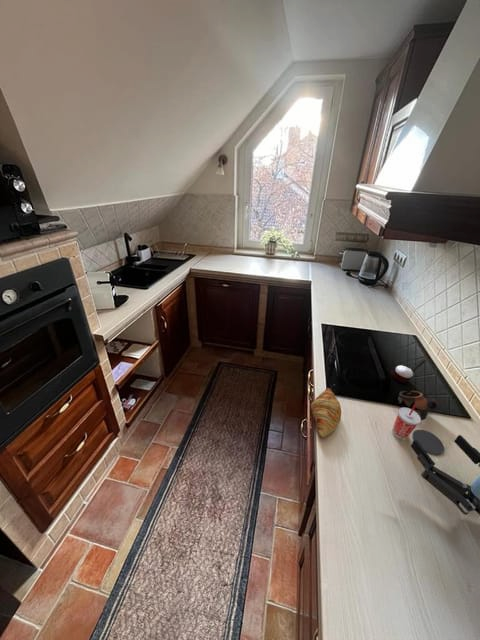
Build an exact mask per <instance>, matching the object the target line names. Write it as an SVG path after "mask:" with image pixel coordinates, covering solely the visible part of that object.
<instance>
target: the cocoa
mask: <svg viewBox="0 0 480 640" xmlns="http://www.w3.org/2000/svg"><path fill="white" fill-rule="evenodd" d="M427 361H428V360H427V358H426V357H424V358H422V359H421V360H420V361H419V362H418V363H417V364H415V365H414V366H413V367H412V368H410V367H407V366H404V365H402V364H401V365H397V366H396V367H395V368H394V370H390V375H391V376H392V377H393V378H394V379H395V380H396V381H398V382H399V383H407V382H409V381H410V380H411V379H412V378H413V376H414V372H415V371H416V370H417V369H418V368H420V367H421V366H422V365H423V364H424V363H426V362H427Z"/></svg>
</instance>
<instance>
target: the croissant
mask: <svg viewBox="0 0 480 640" xmlns="http://www.w3.org/2000/svg"><path fill="white" fill-rule="evenodd" d="M310 409H311V411H312V412H311V413H312V416H313V418H314V420H315V426H316V427H317V429H318V430H317V431H318V434H319V437H321V438H322V439H323V438H327V437H328V436H329V435H330V434H332V433H333V431H335V429H336V428H337V425H338V424H339V423H340V422H341V419H342V406H341V403H340V401H339V400H338V398H337V396H335V393H334V392H333V391H332V389H331V388H329V387H327V388H326V389H325V390H323V391H322V392H321V393H319V395H318V396H317V397H315V399H314V400H313V401H312V402H311V403H310Z"/></svg>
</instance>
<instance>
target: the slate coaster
mask: <svg viewBox="0 0 480 640" xmlns="http://www.w3.org/2000/svg"><path fill="white" fill-rule="evenodd" d="M412 440H413V441H414V440H417V441H418V442H419V444H420V445H421V446H422V448H423V449H424V450H425V451H426V453H427V454H430V455H433V456H440V455H442V454H444V452H445V445H444V443H443V442H442V440H441V439H440V438H439V436H437V435H435V434H434V433H432V432H430V431H428V430H425V429H415V430H413V431H412Z"/></svg>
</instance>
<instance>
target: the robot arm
mask: <svg viewBox="0 0 480 640" xmlns="http://www.w3.org/2000/svg"><path fill="white" fill-rule="evenodd" d="M453 442H454V443H455V444H456V446H457V447H459V449H460V450H461V451H462V452H463V453H464V454H465V455H466V457H468V459H470V461H472V462H473V464H474V465H477V467H479V468H480V452H479V450H478V449H477V448H475V447H473V446H472V445H471V444H470V442H468V441H467V440H466V438H464V437H463V435H462V434H458V435H457V437H456V438H455V439H454V441H453ZM410 448H411V450H412V451H413V452H414V453H415V454H416V458H417V460H418V462H419V463H420V464H421V466H422V467H423V469H424V470H423V472H422V473H421V474H420V476H421V478H422V479H424V480H425V481H426V482H427V483H429V484H430V485H431V486H432V487H433V488H435V490H436V491H438V492H439V493H441V494H442V495H443V496H444V497H445V498H446V499H448V500H449V501H451V502H452V503H453V504H454V505H455V506H456V508H457V509H458V510H459V511H460V512H461V513H462V514H463V515H465V516H467V515H468V514H470V513H471V512H476V513H477V514H478V515H479V516H480V475H479V476H478V477H477V478H476V479H475V480H474V481H473V483H472V484H471V485H470V484H469V483H463V482H461V480H458V479H456V478H455V477H453V476H451V475H450V474H448V473H446V472H445V471H443V470H441V469H440V468H438V467H436V466H435V465H436V463H435V461H434V460H433V459H432V458H431V456H430V455H429V453H427V452H426V451H425V450H424V449H423V448H422V446H421V445H420V444H419V442H418V441H417V440H413V441H412V442H411V444H410Z"/></svg>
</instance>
